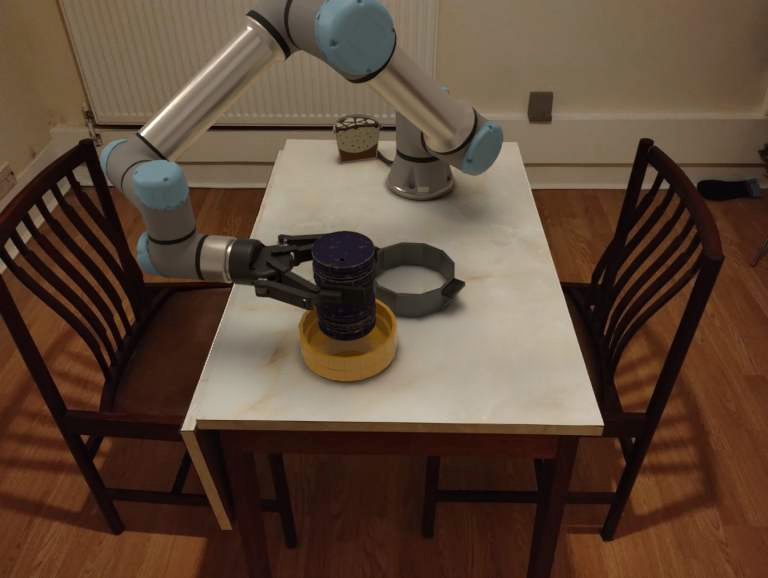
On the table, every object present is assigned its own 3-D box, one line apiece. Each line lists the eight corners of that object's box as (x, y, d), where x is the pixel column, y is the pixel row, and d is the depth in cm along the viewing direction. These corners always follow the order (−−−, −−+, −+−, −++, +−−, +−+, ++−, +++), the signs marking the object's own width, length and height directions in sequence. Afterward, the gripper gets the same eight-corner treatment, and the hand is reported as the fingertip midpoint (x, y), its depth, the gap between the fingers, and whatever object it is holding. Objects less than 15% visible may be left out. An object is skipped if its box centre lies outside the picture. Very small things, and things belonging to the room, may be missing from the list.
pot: (341, 291, 127) (340, 271, 124) (389, 249, 138) (389, 229, 135) (434, 333, 118) (435, 312, 115) (478, 285, 128) (480, 264, 125)
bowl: (288, 333, 118) (285, 310, 115) (372, 307, 124) (371, 284, 120) (321, 396, 107) (319, 372, 103) (412, 364, 112) (413, 340, 109)
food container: (376, 146, 173) (375, 110, 167) (382, 157, 169) (382, 120, 162) (330, 152, 171) (327, 116, 164) (335, 164, 166) (332, 126, 160)
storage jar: (320, 302, 115) (313, 230, 106) (376, 302, 115) (375, 230, 106) (315, 342, 107) (308, 268, 98) (376, 341, 107) (374, 268, 98)
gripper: (259, 240, 118) (383, 252, 115) (213, 324, 101) (357, 340, 98) (254, 204, 113) (383, 215, 110) (204, 285, 96) (355, 301, 93)
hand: (371, 274), depth 104 cm, fingers closed on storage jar, 10 cm apart
